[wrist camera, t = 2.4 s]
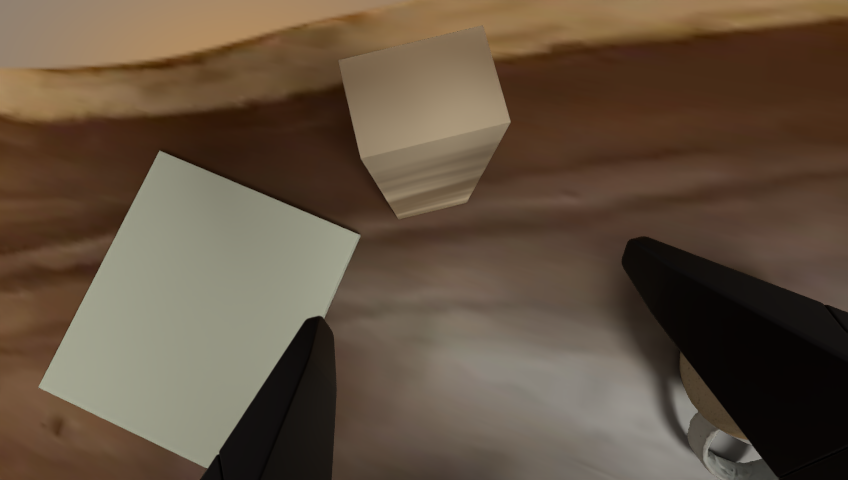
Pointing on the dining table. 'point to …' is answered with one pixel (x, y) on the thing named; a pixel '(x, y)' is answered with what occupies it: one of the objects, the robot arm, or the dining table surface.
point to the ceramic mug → (716, 431)
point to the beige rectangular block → (426, 118)
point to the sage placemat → (195, 307)
